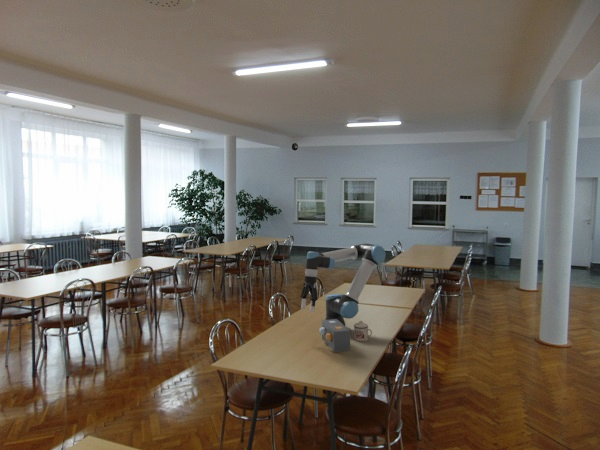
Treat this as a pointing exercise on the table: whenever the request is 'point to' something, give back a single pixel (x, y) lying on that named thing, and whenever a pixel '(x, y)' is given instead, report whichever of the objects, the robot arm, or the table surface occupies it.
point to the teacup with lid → (361, 331)
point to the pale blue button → (322, 331)
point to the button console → (337, 335)
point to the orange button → (329, 337)
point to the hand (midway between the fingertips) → (307, 310)
